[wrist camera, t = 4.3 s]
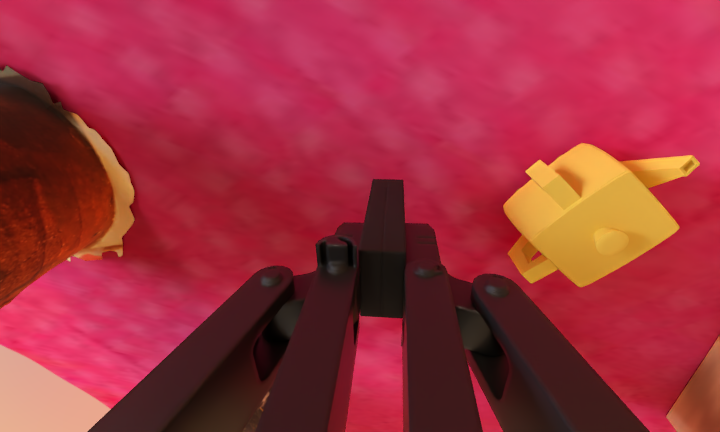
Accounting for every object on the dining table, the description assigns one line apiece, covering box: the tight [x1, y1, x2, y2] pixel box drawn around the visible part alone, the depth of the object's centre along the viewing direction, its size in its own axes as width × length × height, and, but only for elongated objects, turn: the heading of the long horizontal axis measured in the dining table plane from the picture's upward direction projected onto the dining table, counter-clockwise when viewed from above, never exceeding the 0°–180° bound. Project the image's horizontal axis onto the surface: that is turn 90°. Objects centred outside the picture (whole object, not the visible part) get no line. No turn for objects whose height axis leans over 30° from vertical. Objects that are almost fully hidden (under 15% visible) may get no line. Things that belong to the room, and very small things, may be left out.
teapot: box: [503, 143, 700, 287], centre depth 15 cm, size 8×6×5 cm
